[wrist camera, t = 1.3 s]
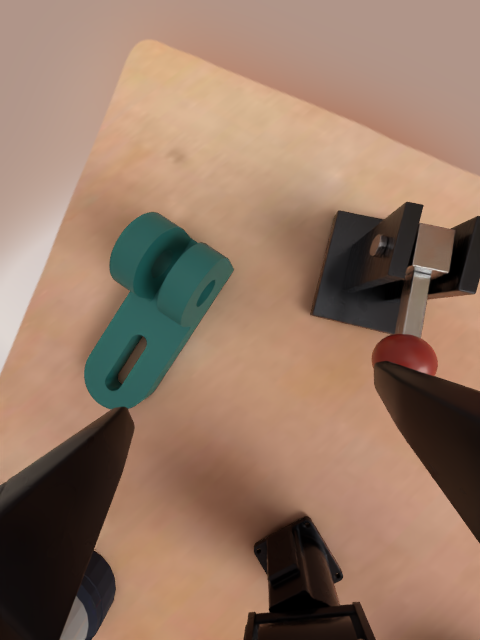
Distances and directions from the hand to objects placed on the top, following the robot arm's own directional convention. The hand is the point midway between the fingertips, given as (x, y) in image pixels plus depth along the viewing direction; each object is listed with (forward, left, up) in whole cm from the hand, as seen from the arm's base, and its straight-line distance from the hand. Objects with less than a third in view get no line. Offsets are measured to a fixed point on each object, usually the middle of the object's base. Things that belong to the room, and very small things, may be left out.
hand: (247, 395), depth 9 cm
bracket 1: (+7, +7, -17) cm, 19 cm away
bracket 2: (0, -13, -16) cm, 21 cm away
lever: (-3, -10, -9) cm, 14 cm away
